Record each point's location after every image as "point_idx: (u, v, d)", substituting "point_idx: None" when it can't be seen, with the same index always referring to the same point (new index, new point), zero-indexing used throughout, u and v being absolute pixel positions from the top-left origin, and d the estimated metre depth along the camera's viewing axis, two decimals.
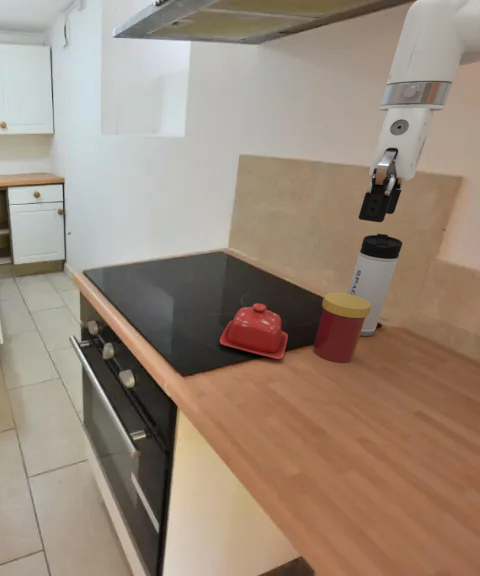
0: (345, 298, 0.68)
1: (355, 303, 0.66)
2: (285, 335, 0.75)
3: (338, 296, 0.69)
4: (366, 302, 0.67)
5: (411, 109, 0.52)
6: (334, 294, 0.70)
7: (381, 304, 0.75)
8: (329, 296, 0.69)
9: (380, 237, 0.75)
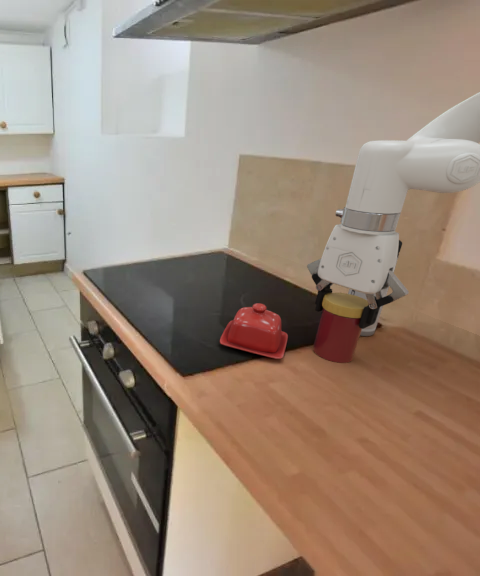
0: (345, 298, 0.68)
1: (355, 303, 0.66)
2: (285, 335, 0.75)
3: (338, 296, 0.69)
4: (366, 302, 0.67)
5: None
6: (334, 294, 0.70)
7: None
8: (329, 296, 0.69)
9: None
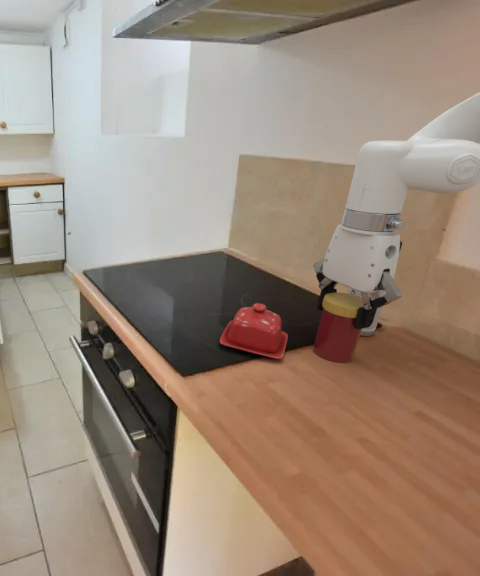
0: (347, 301, 0.67)
1: (340, 296, 0.69)
2: (285, 335, 0.75)
3: (354, 304, 0.66)
4: (327, 296, 0.69)
5: (396, 236, 0.59)
6: (357, 306, 0.65)
7: None
8: None
9: None
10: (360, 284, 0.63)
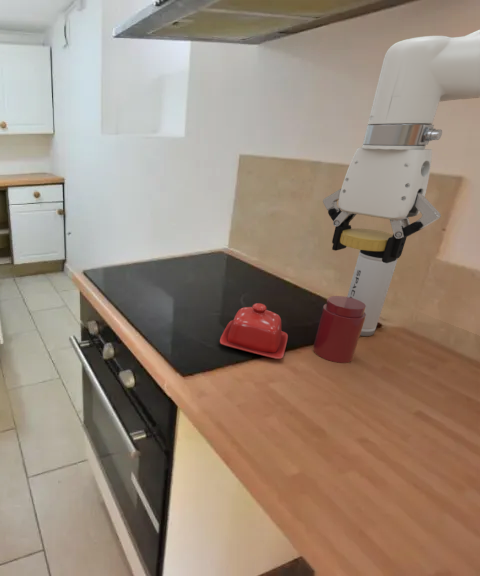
0: (370, 235, 0.60)
1: (358, 231, 0.62)
2: (285, 335, 0.75)
3: (378, 236, 0.59)
4: (346, 232, 0.62)
5: (430, 151, 0.53)
6: (384, 238, 0.58)
7: (381, 304, 0.75)
8: (389, 236, 0.59)
9: None
10: (391, 210, 0.56)
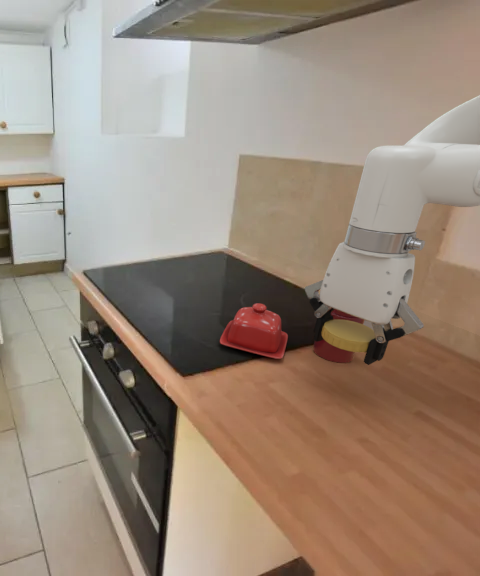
0: (352, 332, 0.58)
1: (340, 325, 0.60)
2: (285, 335, 0.75)
3: (360, 335, 0.57)
4: (328, 327, 0.59)
5: (413, 258, 0.50)
6: (366, 338, 0.56)
7: None
8: (371, 335, 0.57)
9: None
10: (373, 314, 0.53)
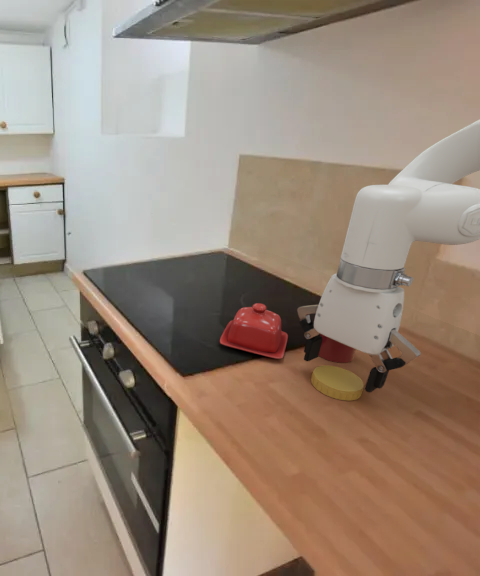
0: (339, 380, 0.61)
1: (329, 372, 0.63)
2: (285, 335, 0.75)
3: (347, 384, 0.60)
4: (317, 374, 0.63)
5: (402, 293, 0.52)
6: (352, 387, 0.59)
7: None
8: (357, 384, 0.60)
9: None
10: (364, 345, 0.55)
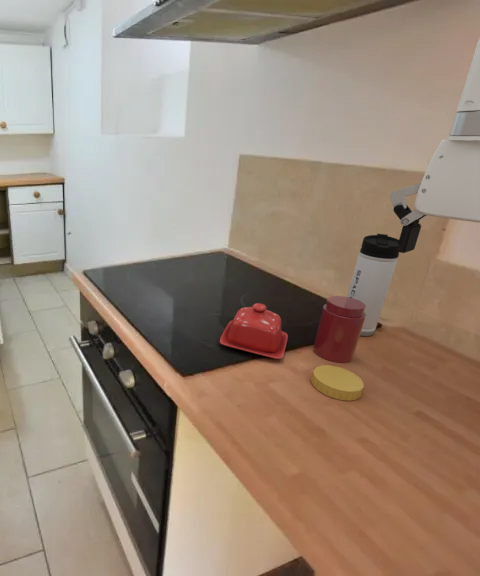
0: (339, 380, 0.61)
1: (329, 372, 0.63)
2: (285, 335, 0.75)
3: (347, 384, 0.60)
4: (317, 374, 0.63)
5: None
6: (352, 387, 0.59)
7: (381, 304, 0.75)
8: (357, 384, 0.60)
9: (380, 237, 0.75)
10: None
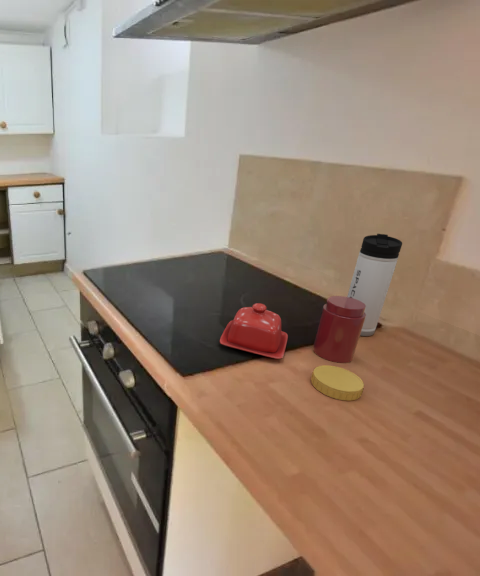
0: (339, 380, 0.61)
1: (329, 372, 0.63)
2: (285, 335, 0.75)
3: (347, 384, 0.60)
4: (317, 374, 0.63)
5: None
6: (352, 387, 0.59)
7: (381, 304, 0.75)
8: (357, 384, 0.60)
9: (380, 237, 0.75)
10: None
